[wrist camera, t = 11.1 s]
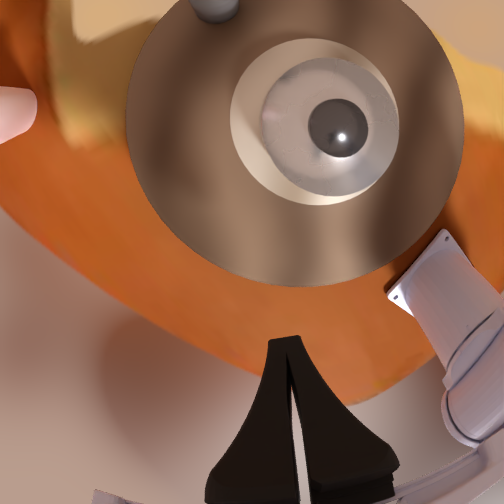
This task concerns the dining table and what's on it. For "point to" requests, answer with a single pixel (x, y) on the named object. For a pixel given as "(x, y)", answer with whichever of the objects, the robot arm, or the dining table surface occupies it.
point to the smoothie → (16, 111)
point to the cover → (329, 126)
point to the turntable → (252, 147)
